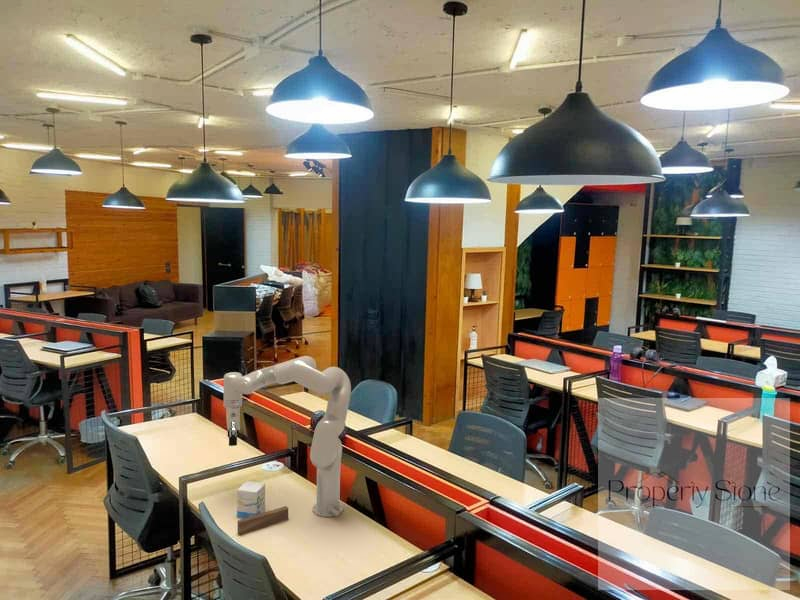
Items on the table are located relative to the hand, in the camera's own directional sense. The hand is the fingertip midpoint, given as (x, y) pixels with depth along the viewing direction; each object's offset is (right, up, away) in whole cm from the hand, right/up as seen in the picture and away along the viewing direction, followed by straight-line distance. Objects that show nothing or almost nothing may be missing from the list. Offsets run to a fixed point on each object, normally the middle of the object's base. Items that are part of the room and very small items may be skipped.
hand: (232, 441), depth 231 cm
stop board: (+18, -28, -19) cm, 38 cm away
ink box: (+11, -27, -10) cm, 31 cm away
